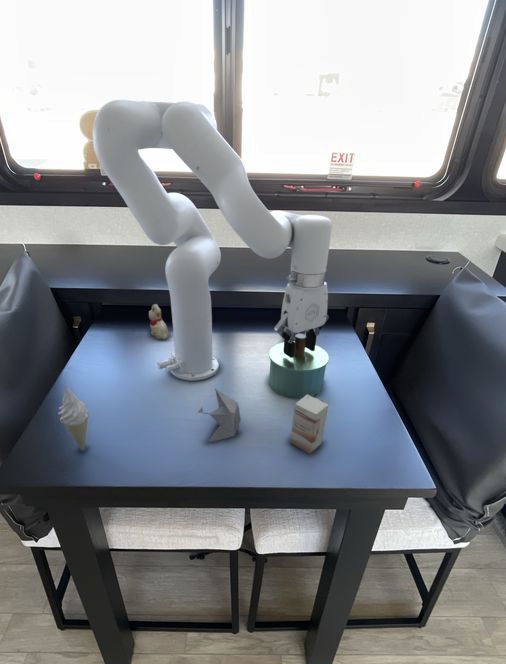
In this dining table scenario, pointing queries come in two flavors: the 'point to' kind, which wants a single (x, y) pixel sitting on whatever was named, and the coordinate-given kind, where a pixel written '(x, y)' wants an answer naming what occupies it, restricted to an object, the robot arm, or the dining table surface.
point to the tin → (295, 381)
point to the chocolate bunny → (158, 324)
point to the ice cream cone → (74, 417)
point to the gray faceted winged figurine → (225, 417)
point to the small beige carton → (308, 423)
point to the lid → (299, 356)
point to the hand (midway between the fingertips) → (299, 351)
